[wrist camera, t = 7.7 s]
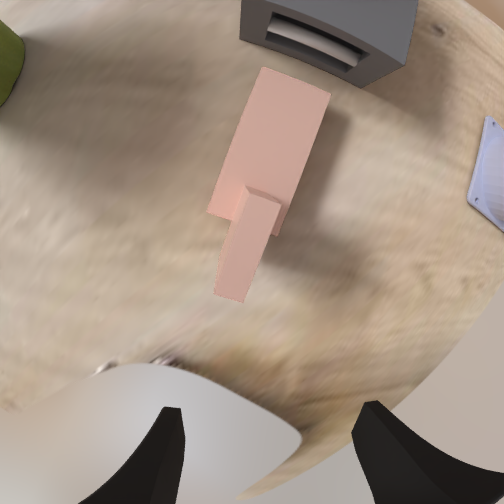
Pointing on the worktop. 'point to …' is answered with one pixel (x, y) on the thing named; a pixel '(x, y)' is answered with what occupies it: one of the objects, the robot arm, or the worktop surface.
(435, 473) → the robot arm
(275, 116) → the pink stepped block
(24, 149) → the worktop surface
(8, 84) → the plant pot
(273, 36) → the grey square box
